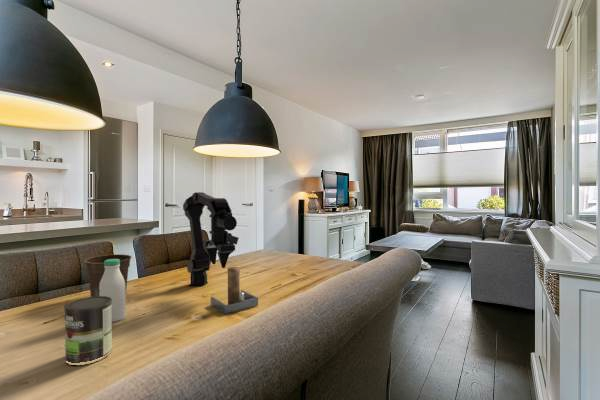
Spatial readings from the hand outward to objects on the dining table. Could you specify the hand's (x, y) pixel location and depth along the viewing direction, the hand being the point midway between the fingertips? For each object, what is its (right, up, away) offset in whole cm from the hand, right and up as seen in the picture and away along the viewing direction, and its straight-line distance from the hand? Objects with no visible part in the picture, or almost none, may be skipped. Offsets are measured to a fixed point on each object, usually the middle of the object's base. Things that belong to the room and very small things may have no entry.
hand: (218, 266), depth 130 cm
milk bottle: (-30, -13, -24) cm, 40 cm away
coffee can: (-21, -13, -48) cm, 55 cm away
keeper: (+9, -12, -12) cm, 19 cm away
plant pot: (-44, -12, -3) cm, 45 cm away
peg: (+9, -12, -12) cm, 19 cm away
